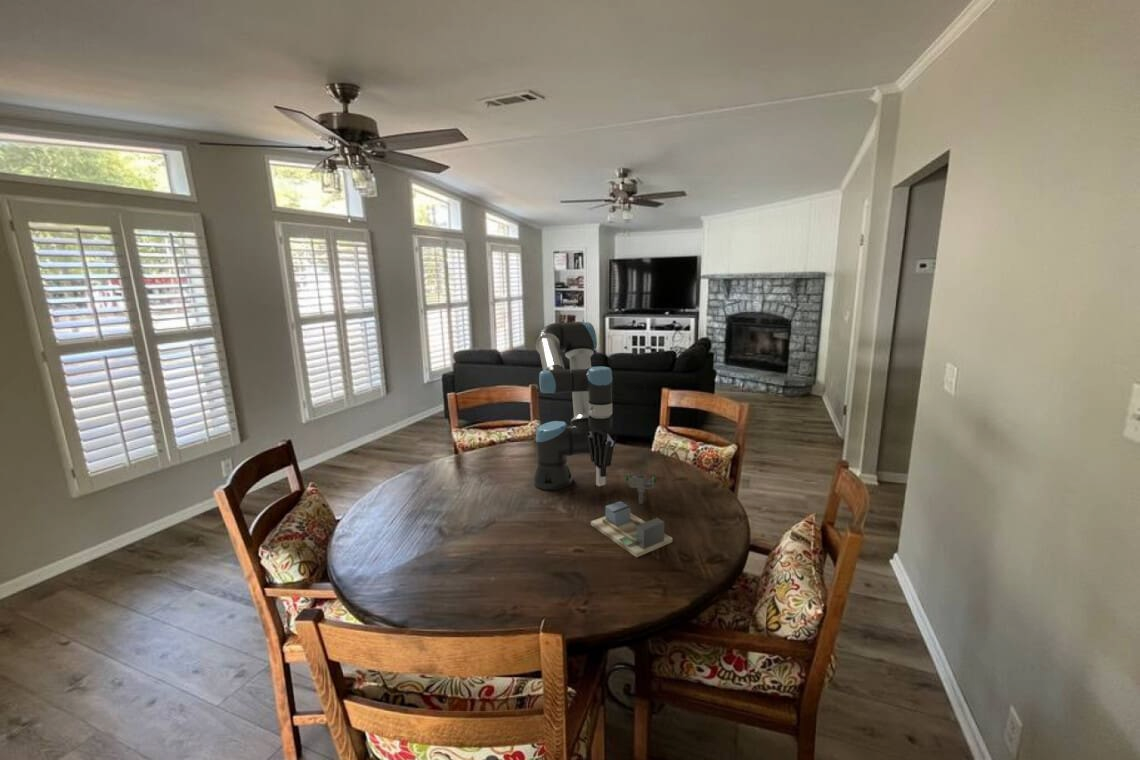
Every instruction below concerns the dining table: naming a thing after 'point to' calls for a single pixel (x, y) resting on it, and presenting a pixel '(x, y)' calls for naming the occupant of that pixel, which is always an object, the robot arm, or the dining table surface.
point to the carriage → (617, 513)
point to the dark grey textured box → (650, 533)
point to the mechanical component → (640, 484)
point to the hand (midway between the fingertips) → (600, 484)
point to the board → (627, 534)
